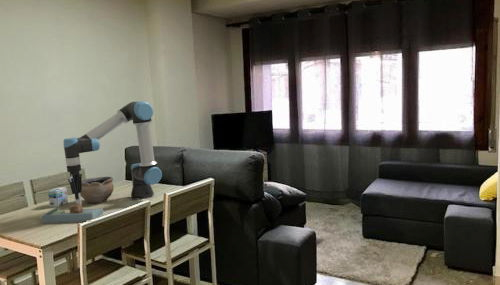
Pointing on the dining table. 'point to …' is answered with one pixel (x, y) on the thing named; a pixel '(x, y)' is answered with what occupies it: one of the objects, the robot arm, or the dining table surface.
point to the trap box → (70, 216)
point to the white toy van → (58, 196)
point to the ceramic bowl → (97, 189)
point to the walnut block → (76, 209)
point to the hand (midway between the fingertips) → (78, 203)
